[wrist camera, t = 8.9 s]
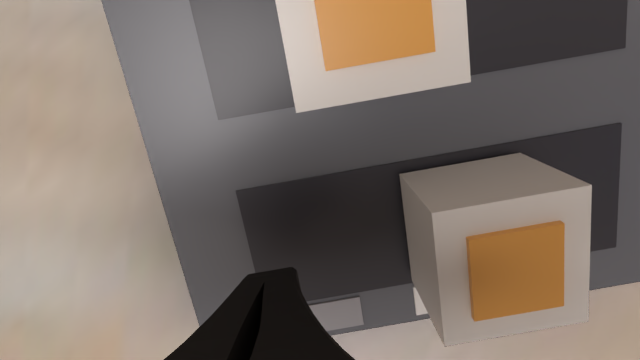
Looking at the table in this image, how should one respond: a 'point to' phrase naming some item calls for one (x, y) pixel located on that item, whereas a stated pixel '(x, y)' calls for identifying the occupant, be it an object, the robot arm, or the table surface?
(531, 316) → the white orange block
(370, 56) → the white orange cube
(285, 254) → the switch plate
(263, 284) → the robot arm
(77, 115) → the table surface
